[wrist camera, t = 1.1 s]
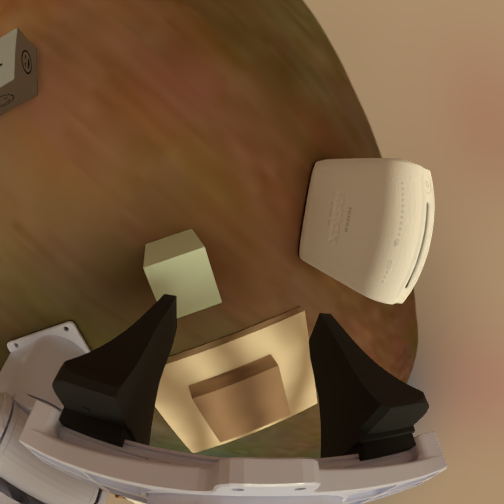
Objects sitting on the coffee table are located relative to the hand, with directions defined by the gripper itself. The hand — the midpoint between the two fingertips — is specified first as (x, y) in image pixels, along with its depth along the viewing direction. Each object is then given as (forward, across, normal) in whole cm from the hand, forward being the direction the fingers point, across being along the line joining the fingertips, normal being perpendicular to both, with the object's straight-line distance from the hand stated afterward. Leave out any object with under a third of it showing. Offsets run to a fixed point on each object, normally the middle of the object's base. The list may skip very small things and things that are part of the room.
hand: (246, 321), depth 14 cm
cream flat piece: (+8, -2, +18) cm, 19 cm away
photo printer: (+15, -7, -2) cm, 16 cm away
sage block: (+9, +6, +2) cm, 11 cm away
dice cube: (+8, +22, -13) cm, 27 cm away
